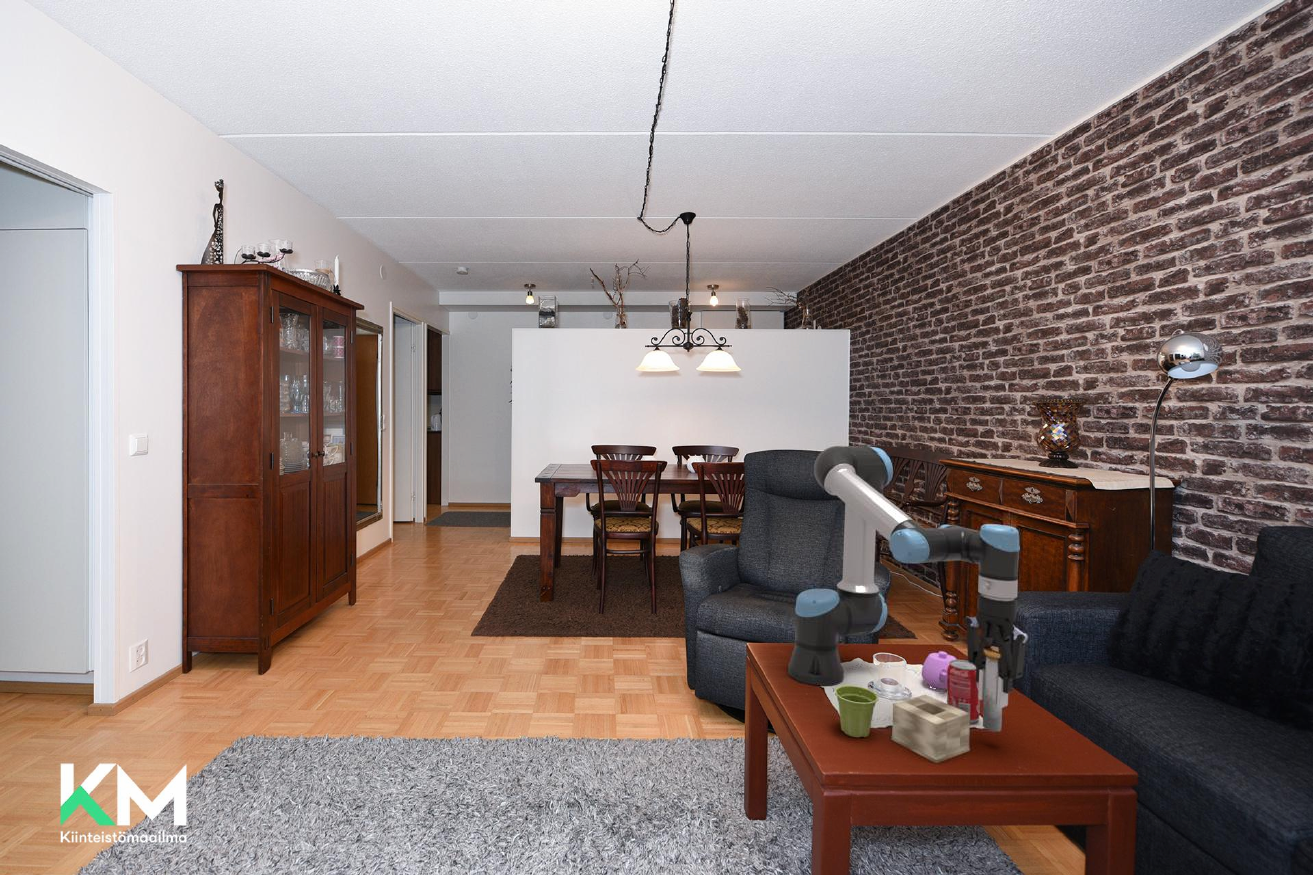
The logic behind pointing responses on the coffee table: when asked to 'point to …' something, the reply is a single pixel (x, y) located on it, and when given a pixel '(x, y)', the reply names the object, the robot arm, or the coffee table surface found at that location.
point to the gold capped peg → (991, 689)
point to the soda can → (963, 688)
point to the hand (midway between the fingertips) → (992, 701)
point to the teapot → (936, 669)
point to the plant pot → (856, 709)
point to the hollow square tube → (931, 728)
